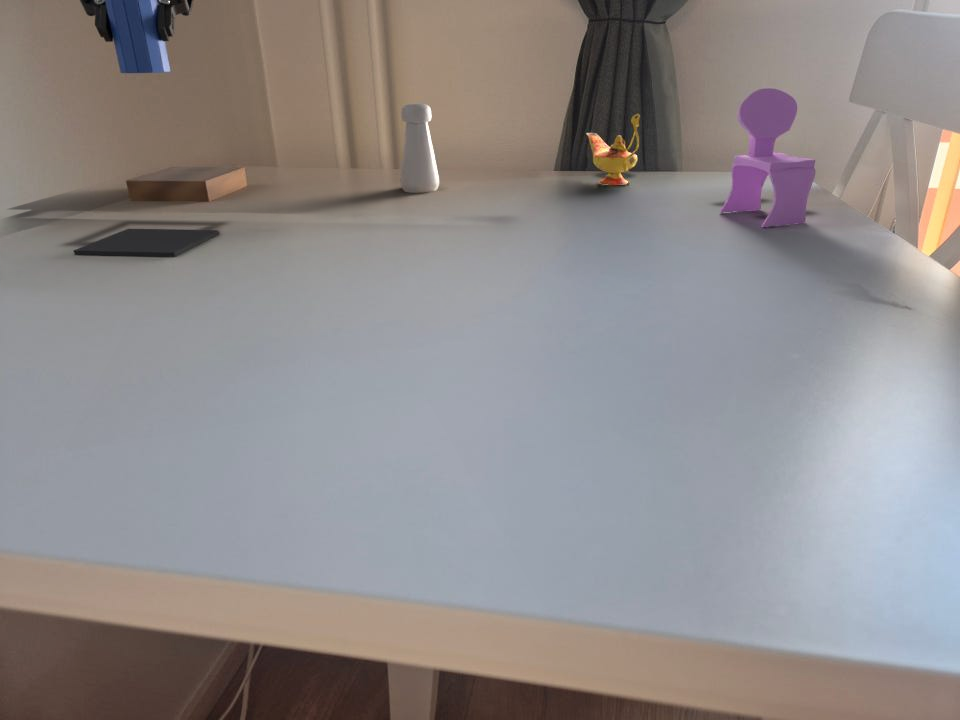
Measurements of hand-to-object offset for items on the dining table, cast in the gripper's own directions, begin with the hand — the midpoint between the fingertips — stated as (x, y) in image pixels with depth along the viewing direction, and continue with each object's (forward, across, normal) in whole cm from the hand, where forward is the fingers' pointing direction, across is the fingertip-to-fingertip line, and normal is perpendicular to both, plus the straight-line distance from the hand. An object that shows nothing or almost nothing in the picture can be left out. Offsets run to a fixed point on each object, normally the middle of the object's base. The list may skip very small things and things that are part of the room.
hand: (135, 35), depth 80 cm
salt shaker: (+12, +34, +20) cm, 41 cm away
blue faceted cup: (+2, 0, +4) cm, 4 cm away
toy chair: (+30, +73, +1) cm, 79 cm away
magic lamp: (+9, +65, +22) cm, 69 cm away
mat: (+24, 0, +7) cm, 25 cm away
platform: (+6, 0, +25) cm, 26 cm away
